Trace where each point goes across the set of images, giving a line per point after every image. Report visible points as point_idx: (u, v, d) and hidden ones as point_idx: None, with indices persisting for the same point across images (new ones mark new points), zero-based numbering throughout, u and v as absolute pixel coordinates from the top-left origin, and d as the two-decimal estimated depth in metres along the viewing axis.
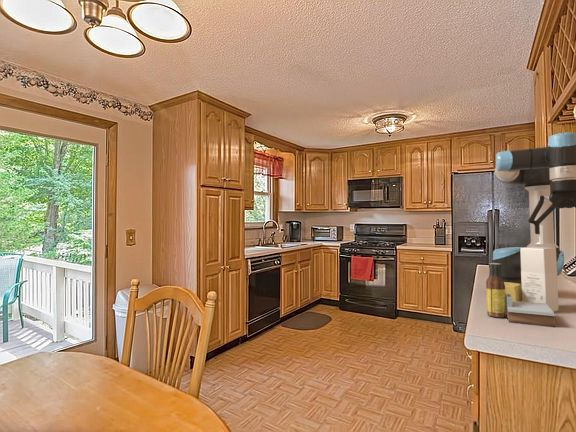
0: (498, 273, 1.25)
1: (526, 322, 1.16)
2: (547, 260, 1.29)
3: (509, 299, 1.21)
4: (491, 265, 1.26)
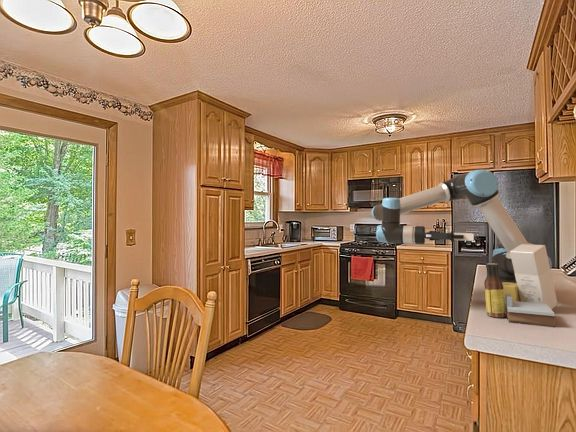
0: (495, 273, 1.25)
1: (526, 322, 1.16)
2: (538, 262, 1.27)
3: (509, 299, 1.21)
4: (488, 266, 1.26)
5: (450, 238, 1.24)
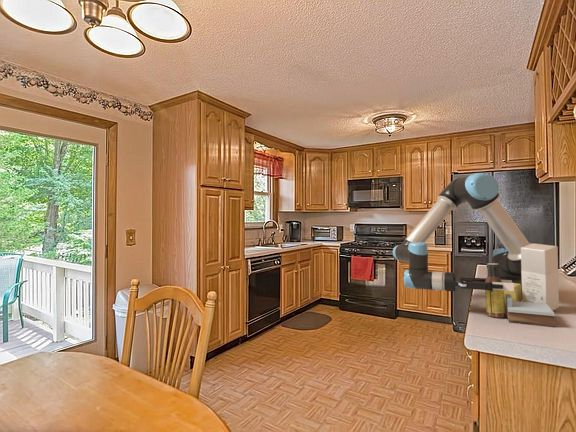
0: (496, 273, 1.25)
1: (526, 322, 1.16)
2: (548, 261, 1.26)
3: (509, 299, 1.21)
4: (488, 266, 1.26)
5: (489, 288, 1.21)
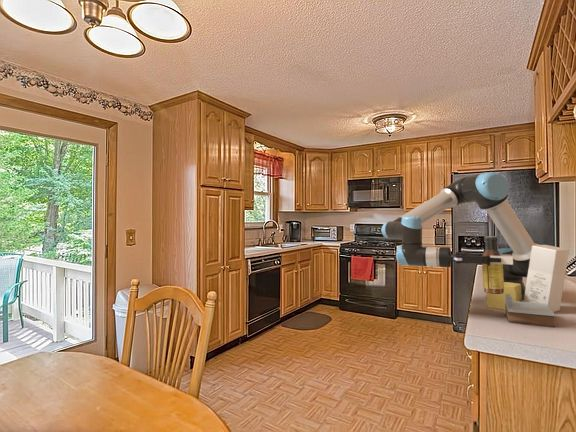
0: (494, 247, 1.16)
1: (526, 322, 1.16)
2: (558, 262, 1.26)
3: (509, 299, 1.21)
4: (486, 238, 1.17)
5: (486, 262, 1.13)
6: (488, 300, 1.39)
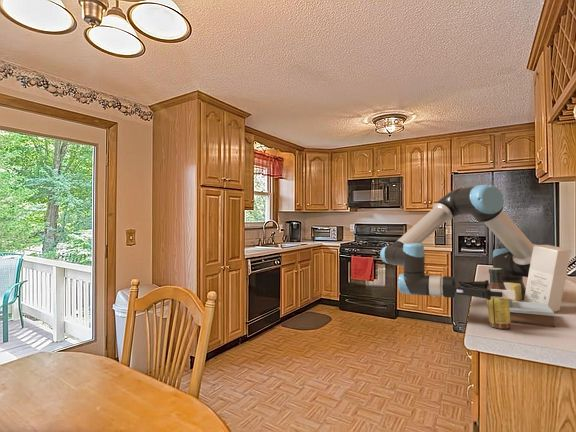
0: (499, 279, 1.12)
1: (526, 322, 1.16)
2: (559, 262, 1.26)
3: (509, 299, 1.21)
4: (491, 271, 1.13)
5: (486, 296, 1.07)
6: None
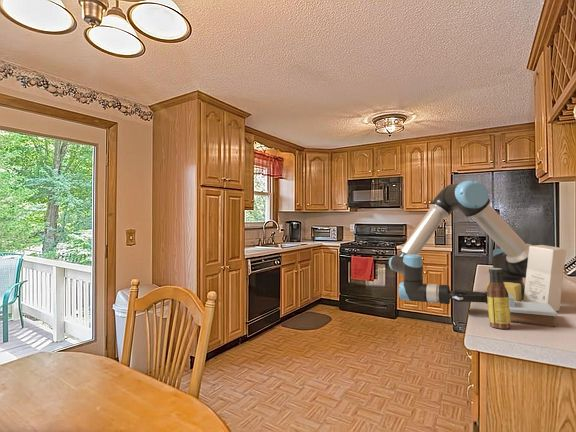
0: (499, 279, 1.12)
1: (526, 322, 1.16)
2: (555, 261, 1.27)
3: (511, 299, 1.20)
4: (491, 271, 1.13)
5: (485, 301, 1.24)
6: None
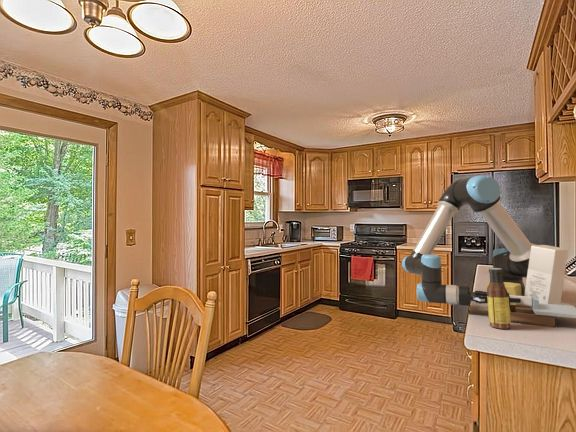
0: (499, 279, 1.12)
1: (526, 322, 1.16)
2: (557, 261, 1.26)
3: (536, 301, 1.17)
4: (491, 271, 1.13)
5: None
6: None
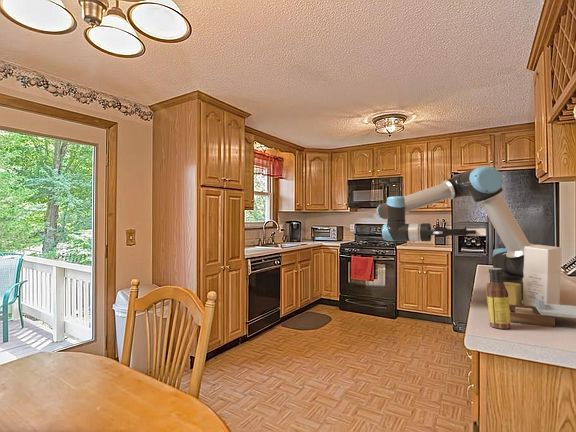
0: (499, 279, 1.12)
1: (526, 322, 1.16)
2: (551, 261, 1.27)
3: (541, 301, 1.16)
4: (491, 271, 1.13)
5: (463, 234, 1.29)
6: None
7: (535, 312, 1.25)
